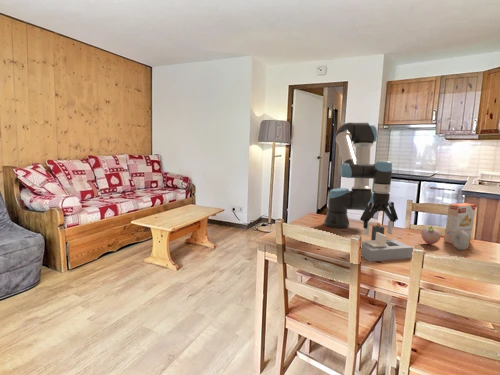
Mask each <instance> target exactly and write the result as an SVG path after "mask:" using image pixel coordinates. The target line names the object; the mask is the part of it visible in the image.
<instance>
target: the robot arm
mask: <svg viewBox="0 0 500 375" xmlns="http://www.w3.org/2000/svg"><path fill="white" fill-rule="evenodd" d="M377 129H378V128H377V127H376V124H374V123H372V122H345V123H344V124H341V125H340V126H339V127H338V128H337V130H336V131H335V135H334V139H335V143H336V144H338V149H339V153H340V154H339V155H340V159H341V161H342V163H341V164H340V166H339V174H340V175H339V176H340V177H341V178H347V179H354V182H353V186H352V187H351V190H349V188H345V187H339V188H332V189H330V190H329V194H328V203H327V204H328V207H327V213H326V216H325V219H324V221H323V222H324V223H323V225H324V226H327V227H328V228H334V229H347V228H349V227H350V221H349V217H348V210H349V211H350V210H355V211H363V212H362V214H361V217H360V218H359V219H360V221H361V222H363V230H364V231H363V234H364V235H366V236H369V235H370V222H369V221H370V220H371V219H372V218H373V216H374V215H375V214H376V213H378V212H384V214H385V215H386V216H387V218H388V219H389V220H388V221H387V230H386V233H387V234H389V235H392V234H393V228H394V227H395V226H394V225H395V222H396V221H398V220H399V218H398V213H397V211H396V208H395V203H394V202H393V201H390V196H391V195H390V192H391V183H392V182H391V181H392V173H393V162H392V161H388V160H385V161H384V160H376V161H375V163H373V164H372V163H371V147H372V146H374V143H375V142H376V141H377V137H378V130H377ZM353 146H354V147H355V149H354V147H353ZM371 179H374V180H373V189H372V187H370V180H371ZM372 190H373V191H372Z"/></svg>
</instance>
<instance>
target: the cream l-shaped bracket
mask: <svg viewBox="0 0 500 375" xmlns="http://www.w3.org/2000/svg"><path fill="white" fill-rule="evenodd" d="M386 240H387V235H385V234H384V235H383V234H381V233H379V232H376V239H375V240H371V239H370V240H363V241H364V243H366V244H368V245H370V246H372V247H387V246H388V245H387V244H386Z"/></svg>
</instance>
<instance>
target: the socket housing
mask: <svg viewBox="0 0 500 375" xmlns="http://www.w3.org/2000/svg"><path fill="white" fill-rule="evenodd" d="M364 241H365V240H362V248H361V255H362V256H361V257H362V258H363V259H365V260H367V261H369V262H381V261H391V260H392V261H393V260H403V259H405V260H406V259H412V258H413V254H412V252H413V253H414V247H413V246H411V245H408V244H406V243H404V242H401V241H400V240H397V239H394V238H391V239H386V244H387V245H388V246H387V247H372V246H370V245H368V244H366V243H364Z"/></svg>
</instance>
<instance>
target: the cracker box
mask: <svg viewBox="0 0 500 375" xmlns="http://www.w3.org/2000/svg"><path fill="white" fill-rule="evenodd" d="M476 207H477V205H476V204H473V203H468V202H461V203H449V204H448V209H447V216H446V223H445V229H444V230H445V231H444V238H443V242H444V243H447V244H449V245H454V243H453V235H454V233H455V232H456V231H458V230H463V231H465V232H466V233H467V235H468V237H469V243H470V242H471V240H472V239H471V237H472V232H473V225H474V219H475V213H476ZM454 246H455V245H454Z"/></svg>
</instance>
